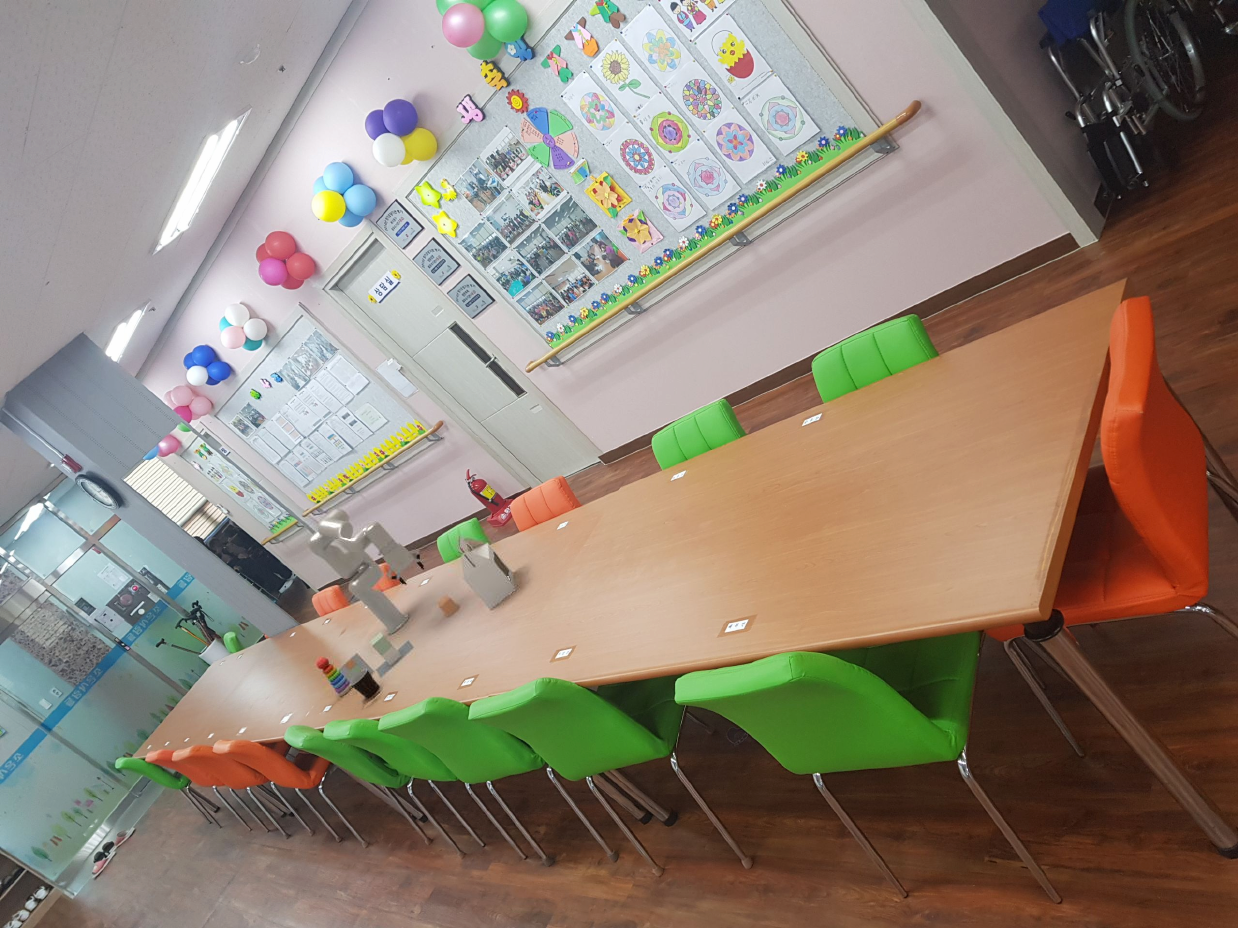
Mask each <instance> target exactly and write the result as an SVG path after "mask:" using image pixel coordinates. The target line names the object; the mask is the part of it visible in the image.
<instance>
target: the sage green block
mask: <svg viewBox="0 0 1238 928" xmlns="http://www.w3.org/2000/svg"><path fill="white" fill-rule="evenodd" d="M369 643H370V645H371V647H372V648H374V650H375V651H376V652H377V653H378V655H380V657H382V655H383V654H384V653H385V652H386V651H388V650H389V649H390V648H391V647H392V646H394V645H393V644H392V643H391V641H390V640H389V639H388V638H387V637H386V636H385V635H384V633H382V632H381V631H380V632H379V633H378V634H377V635H376V636H374V637H373V638H372V639H371V640H370V641H369Z"/></svg>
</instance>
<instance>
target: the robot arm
mask: <svg viewBox="0 0 1238 928" xmlns="http://www.w3.org/2000/svg"><path fill="white" fill-rule="evenodd" d="M349 517H350V516H349V514H348V513H347V512H346V511H345V510H344V509H341V508H333V510H331V511H330V512H329V513H328V514H327V515H325V516H324V517H323V518H322V519H320V521H319V522H318V524H317V528H316V531H315V532H314V533H313V534H312V535H311V536H310V537H309V539H308V541H307V546H308V549H309V550H310V551H311V552H312V553H313V554H314V555H316V556H317V557H319V558H320V559H322V560H324V562H326V563H327V564H328V566H330V567H331V568H332V570H334V572H336V573H337V574H338V575H339V577H341V578H342V579H345V580H347V579H349V578H351V577H352V576H354V574H355V573H356V572H357V571H358V570H360V568H362V567H363V568H362V569H361V570H360V571H358V573H357V574H355V576H354V577H352V579H351V580H350V582H349V583H348V591H349V592H350V593H351V594H352V595H353V596H355V598H357V599H359V600H360V601H361V602H362V603H363V604H364V605H365V606H366V607H367V608H368V610H369V611H370V612H372V614H373V615H374V616H375V617H376V618H377V619H378V620H379V621H380V623H382V624H383V626H384V627H385V628H386V629H387V630H386V634H387V635H392V634H394V633H395V632H397V631H398V630H400V628H402V627H403V626H404V625H405V624H406V622H407V621H408V619H409V618H410V616H409V614H407V613H406V614H403V613H402V612H401V611H400V610H399V609H398V607H397V606H395V604H394V603H393V602H392V601H391V599H389V597H388V596H387V595H386V594H385V593H384V592H383V591H381V590H379V589H378V590H377V589H373V588H374V587H375V586H376V585H377V584H378V582H380V581H381V580H382V578H383V576H384V571H383V569H382V568H381V566H380V565H379V564H378V563H377V562H376V561H375V560H374V559H373V557H371V555H369V554H368V553H367V551H366V549H367V548H369V546H370V545H372V544H373V545H374V546H375V548H376V549H377V550H378V552H377V555H378V556H379V557H380V556H382V558H383V560H384V562H385V563H386V564H387V566H388V567H389V569H388V571H387V573H386V575H385V576H386V578H387V579H388V578H389V579H391V580H398V581H399V582H400V584H402V585H405V586H407V585H408V583H407V582H406V581H405V580H404V579H403V578H402V577H401V576H400V575H401V573H402V572H403V571H405V569H406V568H408V567H409V566H410V565H412V564H413V562H414V563H416V564H417V565H418V566H419V567H420V569H422V570H425V568H424V567H425V566H424V564H423V563H422V562H421V554H420V549H418V548H416V549H412V550H408V549H407V548H406V547H405V546H404V545H402V544H401V543H400V542H397V541H396V540H395V539H394V538H393V537H392V536H391V534H389V532H388V531H387V530H386V529H385V527H383V525H381V524H380V522H378V521H374V522H371V523H370V522H369V523H367V524H365V525H364V526H363V527H362V528H361V529H359V531H357V533H355V534H354V527H353V525H352V523H351V522H349V521H350V518H349ZM353 534H354V535H353ZM335 540H338V543H339V544H340V546H341V547H342V548H343V549H344V550H346V551H347V552H344V551H343V550H342V549H341V548H340V547H339V546H337V545H333V544H332V543H333V542H334V541H335ZM412 554H416V558H415V557H414V556H413V555H412ZM392 572H393V573H395V575H392Z"/></svg>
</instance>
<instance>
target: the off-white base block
mask: <svg viewBox="0 0 1238 928" xmlns="http://www.w3.org/2000/svg"><path fill="white" fill-rule="evenodd" d="M401 656H402V655H401V654H400V653H399V651H398V649H397V648H396V647H395V646H394V645H393V646H392V647H391V648H390V649H389V650H388V651H386V652H385V653H384V654H383V655H382V656H381V658H383V659H384V660H385V661H387V662H388V664H389V665H390V666H391V665H392V664H393V663H395V662H396V661H397V660H398V659H399V658H400V657H401Z"/></svg>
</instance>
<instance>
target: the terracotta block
mask: <svg viewBox="0 0 1238 928" xmlns="http://www.w3.org/2000/svg"><path fill="white" fill-rule="evenodd" d="M436 605H437V606H438V608H440V609H441V611H442V612H443V613H444V614H445V615H446V616H447V617H448V618H450V616H452V615H453V614H454V613H455V612H456V611H457V610H458V609H459V608H460V607H459V605H457V604H456V602H455V601H454V600H453V599H452V598H451V597H450V596H449V595H448V594H445V596H444V597H442V599H441V598H440V600H439V601H437V603H436Z"/></svg>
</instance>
